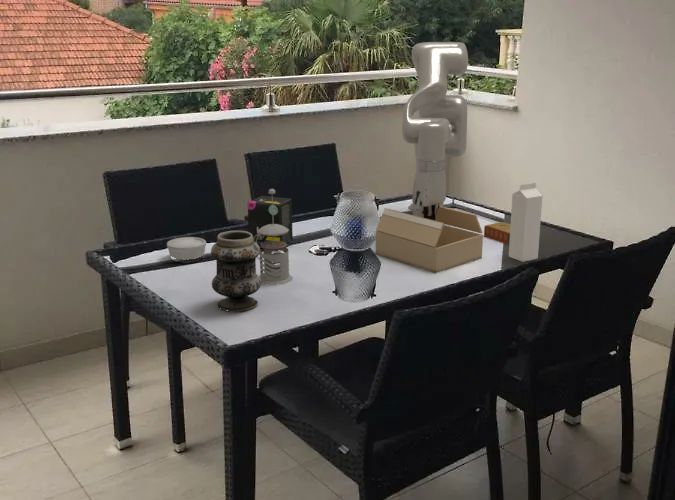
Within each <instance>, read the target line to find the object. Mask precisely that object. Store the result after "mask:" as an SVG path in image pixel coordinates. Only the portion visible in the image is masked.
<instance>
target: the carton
mask: <svg viewBox="0 0 675 500" xmlns="http://www.w3.org/2000/svg"><path fill="white" fill-rule="evenodd" d="M510 226H511V223H507V222H504V221H502V222H501V221H500V222H495V223H490V224H486V225H484V229H483V231H484V232H483V238H487V239H488V240H489V239H490V240H493V241H496V242H499V243H502V244H505V245H507V246H509V242H510ZM539 237H540V235H539Z"/></svg>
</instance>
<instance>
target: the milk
mask: <svg viewBox="0 0 675 500" xmlns="http://www.w3.org/2000/svg"><path fill="white" fill-rule="evenodd" d="M536 183H537V182H532V183H524V184H520V185H519V190H517V191H516V192H514V193H512V194H511V195H512V197H511V209H510V210H511V213H510V224H511V226H510V242H509V245H508V257H509V258H511V259H514V260H517V261H519V262H522V263H523V262H527V261H528V262H529V261H533V260H538V258H539V245H540V236H539V235H540V234H541V233H540V232H541V220H542V219H541V217H542V208H543V207H542V206H543V195H542V194H541V192H540V191H539V190H538V188H537V184H536Z"/></svg>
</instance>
